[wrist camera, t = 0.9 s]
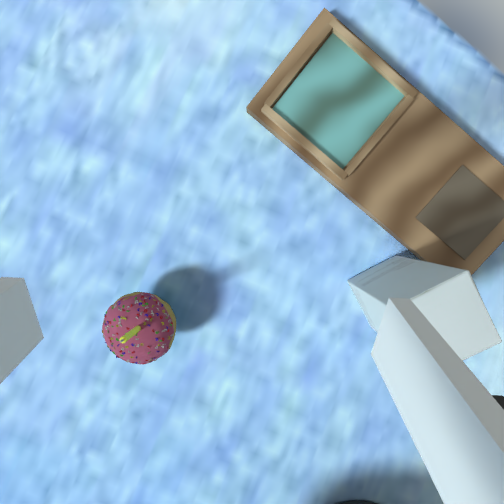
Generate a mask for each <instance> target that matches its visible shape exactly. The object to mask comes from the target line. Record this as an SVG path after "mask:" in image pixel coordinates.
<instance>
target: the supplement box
mask: <svg viewBox="0 0 504 504" xmlns="http://www.w3.org/2000/svg"><path fill="white" fill-rule="evenodd" d="M347 282H348V284H349V285H350V287H351V289H352V291H353V293H354V295H355V297H356V299H357V301H358V303H359V305H360V307H361V309H362V311H363V313H364V315H365V317H366V319H367V321H368V322H369V324H370V326H371V328H373V329H374V330H375V331H376V332H377V333H378V330H379V327H380V324H381V321H382V318H383V314H384V311H385V308H386V305H387V302H388V299H389V298H407V299H410V300H411V301H412V302H413V303H414V304H415V305H416V307H417V308H418V309H419V310H420V311H421V313H422V314H423V315H424V316H425V317H426V318H427V320H428V321H429V322H430V323H431V324H432V326H433V327H434V328H435V329H436V330H437V331H438V333H439V334H440V335H441V336H442V337H443V339H444V340H445V341H446V342H447V343H448V344H449V346H450V347H451V348H452V349H453V350H454V352H455V353H456V354H457V355H458V356H459V357H460V359H461V360H462V361H463V360H465V359H467V358H469V357H471V356H473V355H476V354H478V353H480V352H482V351H484V350H486V349H488V348H490V347H492V346H494V345H496V344H499V343H501V342H502V340H501V338H500V336H499V334H498V332H497V330H496V328H495V326H494V324H493V322H492V320H491V318H490V315H489V313H488V311H487V309H486V307H485V305H484V303H483V301H482V298H481V296H480V294H479V292H478V289H477V287H476V285H475V283H474V281H473V278H472V276H471V274H470V272H469V271H468V270H463V269H459V268H454V267H449V266H444V265H440V264H435V263H430V262H425V261H421V260H416V259H411V258H407V257H402V256H397V255H396V256H394V257H392V258H390V259H387V260H385V261H384V262H382V263H380V264H378V265H376V266H374V267H372V268H370V269H368V270H366V271H364V272H362V273H360V274H359V275H357V276H355V277H353V278H351V279H349V280H347Z"/></svg>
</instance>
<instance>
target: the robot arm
mask: <svg viewBox="0 0 504 504" xmlns="http://www.w3.org/2000/svg"><path fill="white" fill-rule="evenodd" d="M43 338H44V337H43V334H42V331H41V328H40V325H39V322H38V319H37V316H36V313H35V310H34V307H33V304H32V301H31V298H30V295H29V292H28V289H27V286H26V283H25V280H24V278H11V277H1V278H0V384H1V383H2V382H3V381H4V379H5V378H6V377H7V376H8V375H9V374H10V373H11V372H12V371H13V370H14V369H15V368H16V367H17V366H18V365H19V364H20V363H21V361H22V360H23V359H24V358H25V357H26V356H27V355H28V354H29V353H30V352H31V351H32V350H33V349H34V348H35V347H36V346H37V345H38V343H39V342H40V341H41V340H42V339H43ZM371 355H372V357H373V359H374V361H375V363H376V365H377V367H378V370H379V372H380V374H381V376H382V378H383V380H384V382H385V384H386V386H387V388H388V390H389V392H390V394H391V396H392V398H393V400H394V402H395V404H396V406H397V408H398V410H399V413H400V415H401V417H402V419H403V421H404V423H405V425H406V427H407V429H408V431H409V433H410V435H411V437H412V439H413V441H414V443H415V445H416V447H417V449H418V451H419V454H420V456H421V458H422V460H423V462H424V464H425V466H426V468H427V470H428V472H429V474H430V476H431V478H432V480H433V482H434V484H435V486H436V488H437V490H438V492H439V495H440V497H441V499H442V501H443V503H444V504H504V397H503V396H497V395H491V394H490V393H489V392H488V391H487V389H486V388H485V387H484V386H483V385H482V383H481V382H480V381H479V380H478V379H477V378H476V376H475V375H474V374H473V373H472V372H471V370H470V369H469V368H468V367H467V366H466V365H465V363H464V362H463V361H462V360H461V359H460V357H459V356H458V355H457V354H456V353H455V352H454V350H453V349H452V348H451V347H450V346H449V344H448V343H447V342H446V341H445V340H444V339H443V337H442V336H441V335H440V334H439V333H438V331H437V330H436V329H435V328H434V327H433V326H432V324H431V323H430V322H429V321H428V320H427V318H426V317H425V316H424V315H423V314H422V313H421V311H420V310H419V309H418V308H417V307H416V305H415V304H414V303H413V302H412V301H411V300H410V299H407V298H389V299H388V302H387V305H386V308H385V311H384V314H383V318H382V321H381V324H380V327H379V330H378V333H377V336H376V339H375V343H374V346H373V349H372V352H371ZM340 504H375V503H372V502H367V501H348V502H343V503H340Z"/></svg>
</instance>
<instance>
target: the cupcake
mask: <svg viewBox="0 0 504 504" xmlns="http://www.w3.org/2000/svg"><path fill="white" fill-rule="evenodd" d="M175 332H176V318H175V315H174V313H173V311H172V309H171V307H170V305H169V304H168V303H167V302H165V301H163V300H162V299H160V298H159V297H158V296H157V295H154V294H150V293H144V292H134V293H131V294H127V295H124V296H122V297H121V298H119V299H118V300H117V301H116V302H115V303H114V304H113V305H111V306H110V307H109V309H108V310H107V311H106V315H105V318H104V322H103V326H102V333H103V337H104V338H105V341H106V342H105V343H107V345H108V346H107V347H108V348H109V349H110V351H112V352H113V353H114V354H115V355H116V358H121V359H123V360H125V361H126V362H130V363H135V364H147V363H151V362H152V361H156V360H157V359H158V358H159V357H161V356H162V355H164V354H165V353H166V352H167V351H168V350H169V349H170V347H171V345H172V342H173V340H174V336H175Z"/></svg>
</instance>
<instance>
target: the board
mask: <svg viewBox="0 0 504 504" xmlns="http://www.w3.org/2000/svg"><path fill="white" fill-rule="evenodd" d="M246 108H247V113H248V114H250V115H251V116H252V117H253V118H254V119H256V120H257V121H258V122H259V123H260V124H261V125H263V126H264V127H265V128H266V129H267V130H268V131H270V132H271V133H272V134H273V135H274V136H275V137H277V138H278V139H279V140H280V141H281V142H283V143H284V144H285V145H286V146H287V147H288V148H290V149H291V150H292V151H293V152H294V153H295V154H297V155H298V156H299V157H300V158H301V159H302V160H304V161H305V162H306V163H307V164H308V165H310V166H311V167H312V168H313V169H314V170H315V171H317V172H318V173H319V174H320V175H321V176H322V177H324V178H325V179H326V180H327V181H328V182H329V183H331V184H332V185H333V186H334V187H335V188H337V189H338V190H339V191H340V192H341V193H342V194H344V195H345V196H346V197H347V198H348V199H349V200H351V201H352V202H353V203H354V204H355V205H356V206H358V207H359V208H360V209H361V210H362V211H364V212H365V213H366V214H367V215H368V216H369V217H371V218H372V219H373V220H374V221H375V222H376V223H378V224H379V225H380V226H381V227H382V228H383V229H385V230H386V231H387V232H388V233H389V234H391V235H392V236H393V237H394V238H395V239H396V240H398V241H399V242H400V243H401V244H402V245H403V246H405V247H406V248H407V249H408V250H409V251H410V252H412V253H413V254H414V255H415V256H416V257H417V258H419V259H420V260H421V261H425V262H430V263H435V264H440V265H444V266H449V267H454V268H459V269H463V270H468V271H469V272H470V274H471V275H472V274H473V273H474V272H475V271H476V270H477V269H478V268H479V267H480V266H481V264H482V263H483V262H484V261H485V260H486V259H487V258H488V257H489V256H490V255H491V254H492V253H493V252H494V251H495V250H496V248H497V247H498V246H499V245H500V244H501V243H502V242H503V241H504V166H503V165H502V164H501V163H500V162H499V161H498V160H496V159H495V158H494V157H493V156H492V155H491V154H490V153H489V152H487V151H486V150H485V149H484V148H483V147H482V146H481V145H479V144H478V143H477V142H476V141H475V140H474V139H473V138H472V137H470V136H469V135H468V134H467V133H466V132H465V131H464V130H462V129H461V128H460V127H459V126H458V125H457V124H456V123H455V122H453V121H452V120H451V119H450V118H449V117H448V116H447V115H445V114H444V113H443V112H442V111H441V110H440V109H439V108H438V107H436V106H435V105H434V104H433V103H432V102H431V101H430V100H429V99H427V98H426V97H425V96H424V95H423V94H422V93H421V92H419V91H418V90H417V89H416V88H415V87H414V86H413V85H412V84H410V83H409V82H408V81H407V80H406V79H405V78H404V77H402V76H401V75H400V74H399V73H398V72H397V71H396V70H395V69H393V68H392V67H391V66H390V65H389V64H388V63H387V62H385V61H384V60H383V59H382V58H381V57H380V56H379V55H378V54H376V53H375V52H374V51H373V50H372V49H371V48H370V47H368V46H367V45H366V44H365V43H364V42H363V41H362V40H361V39H359V38H358V37H357V36H356V35H355V34H354V33H353V32H351V31H350V30H349V29H348V28H347V27H346V26H345V25H344V24H342V23H341V22H340V21H339V20H338V19H337V18H336V17H334V16H333V15H332V14H331V13H330V12H329V11H328V10H327V9H325V8H324V9H323V10H322V11H321V13H320V14H319V15H318V17H317V18H316V19H315V20H314V22H313V23H312V24H311V26H310V27H309V28H308V29H307V31H306V32H305V33H304V34H303V36H302V37H301V38H300V40H299V41H298V42H297V43H296V45H295V46H294V47H293V48H292V50H291V51H290V52H289V54H288V55H287V56H286V57H285V59H284V60H283V61H282V63H281V64H280V65H279V66H278V68H277V69H276V70H275V71H274V73H273V74H272V75H271V77H270V78H269V79H268V80H267V82H266V83H265V84H264V85H263V87H262V88H261V89H260V91H259V92H258V93H257V94H256V96H255V97H254V98H253V99H252V101H251V102H250V103H249V105H248V106H247V107H246Z"/></svg>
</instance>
